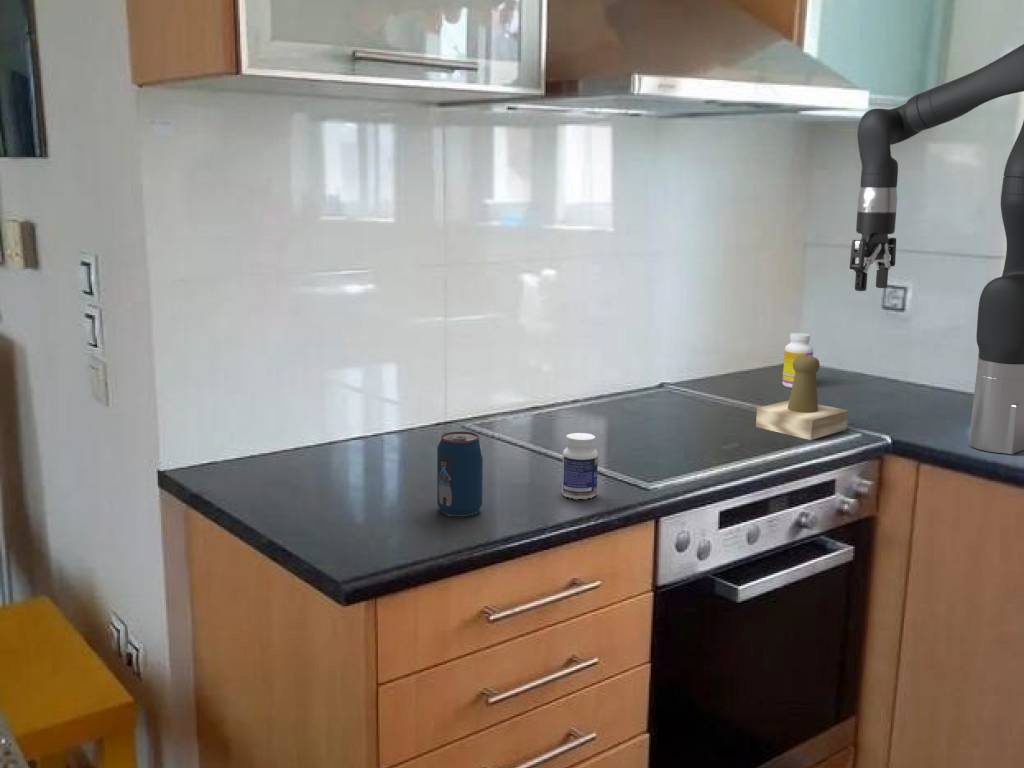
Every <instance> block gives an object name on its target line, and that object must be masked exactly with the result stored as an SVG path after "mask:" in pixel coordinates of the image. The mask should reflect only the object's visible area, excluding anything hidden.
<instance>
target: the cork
mask: <svg viewBox="0 0 1024 768" xmlns="http://www.w3.org/2000/svg"><path fill="white" fill-rule="evenodd" d="M793 369H794V371H795V375H794V380H793V385H792V388H791V390H790V395H789V399H788V400H789V404H788V409H789V410H791V411H794V412H801V413H813V412H817V411H818V404H819V403H818V402H819V401H818V384H817V381H818V380H817V373H818V372H819V369H820V361H819V359H818V358H817V357H815V356H813V357H812V356H798V357H796V358H795V359H794V361H793Z"/></svg>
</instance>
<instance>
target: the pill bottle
mask: <svg viewBox="0 0 1024 768" xmlns="http://www.w3.org/2000/svg"><path fill="white" fill-rule="evenodd" d="M565 443H566V444H567V447H565V448H564V450H563V451H562V467H561V468H562V471H561V472H562V474H561V475H562V476H561V493H562V495H563V496H564V497H565V498H567V497H569V498H568V499H571V498H573V499H572V500H578V499H583V500H589V499H588V498H590V499H593V498H595V497H594V496H597V494H598V493H597V492H598V474H599V473H598V468H599V465H598V464H599V453H598V451H597V450H596V448H595V447H594V446H595V445H596V436H595V435H594V434H592V433H585V432H574V433H569V434H566V440H565ZM592 497H593V498H592Z"/></svg>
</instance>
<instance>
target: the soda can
mask: <svg viewBox="0 0 1024 768" xmlns="http://www.w3.org/2000/svg"><path fill="white" fill-rule="evenodd" d="M483 449H484V448H483V445H482V443H481V441H480V436H479V435H478V434H477V433H474V432H472V431H471V432H470V431H449V432H447V433H446V432H445V433H443V434H442V435H441V437H440V441H439V443H438V445H437V448H436V451H437V452H436V453H437V454H436V456H437V460H436V462H437V464H436V465H437V466H436V467H437V468H436V469H437V470H436V471H437V473H436V474H437V475H436V479H437V480H436V482H437V483H436V484H437V486H436V487H437V489H436V497H437V499H436V502H437V504H436V505H437V506H438V508H439V510H440V512H441V513H442V514H443V513H444V514H443V515H445V514H446V515H445V516H447V515H450V516H449V517H451V516H468V515H472V514H475V513H476V512H477V513H478V512H479V510H480V509H481V507H482V505H483V463H484V462H483V461H484V459H483V458H484V457H483V453H484V452H483V451H484V450H483ZM477 513H476V514H477ZM476 514H475V515H476ZM472 516H473V515H472ZM468 517H469V516H468Z"/></svg>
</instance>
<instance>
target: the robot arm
mask: <svg viewBox="0 0 1024 768" xmlns="http://www.w3.org/2000/svg"><path fill="white" fill-rule="evenodd" d="M1022 92H1024V43H1023V44H1021V45H1019V46H1018V47H1016V48H1014V49H1013V50H1011V51H1010V52H1008V53H1006V54H1004V55H1002V56H1001V57H999V58H998V59H995V60H994V61H992V62H990V63H988V64H986V65H985V66H983V67H981V68H979V69H977V70H974V71H972V72H970V73H967V74H965V75H963V76H960V77H958V78H956V79H953V80H951V81H949V82H946V83H945V82H944V83H943V84H941V85H938V86H935V87H932V88H930V89H928V90H925V91H922V92H921V93H917V94H915V95H914V96H911V97H910V98H909V99H908V100H907V101H906V102H905V103H904V104H902V105H900V106H898V107H894V108H890V109H889V108H871V109H869V110H867V111H866V112H865V113H864V114H863V115H862V116H861V118H860V120H859V123H858V125H857V127H858V128H857V136H856V137H857V145H858V146H857V147H858V152H859V158H860V163H861V174H860V188H859V192H858V199H857V214H856V227H855V229H856V230H855V231H856V234H861V239H852V241H851V247H850V248H851V250H850V258H849V270H853V271H854V273H855V280H854V290H855V291H856V292H866V291H867V289H868V288H867V286H868V272H869V268H870V267H871V265H872V264H874V263H875V265H876V268H877V270H876V278H875V287H876V289H886V288H887V287H888V280H889V271H890V270H891V268H892V267H895V265H896V253H897V237H889V235H892V234H895V231H896V222H897V221H896V219H897V208H898V191H897V189H898V188H897V187H898V175H899V174H898V173H899V164H898V161H897V160H896V159H895V158H894V157H892V154H891V153H892V152H891V145H892V146H893V145H896V144H899V143H902V142H904V141H906V140H908V139H910V138H912V137H914V136H916V135H917V134H920V133H921V132H923V131H926V130H929V129H932V128H935V127H937V126H938V127H939V126H940V125H943V124H945V123H948V122H951V121H954V120H956V119H958V118H960V117H962V116H965V115H966V114H967V113H969V112H971V111H972V110H974V109H976V108H978V107H979V106H981V105H983V104H985V103H987V102H990V101H992V100H995V99H997V98H998V99H999V98H1001V97H1003V96H1009V95H1012V94H1016V93H1017V94H1018V93H1022ZM1000 210H1001V211H1000V212H1001V213H1000V214H1001V217H1002V218H1001V219H1002V223H1003V228H1004V229H1003V230H1004V232H1005V239H1006V240H1005V241H1006V252H1005V260H1004V264H1003V265H1004V266H1003V269H1002V270H1003V271H1002V275H1001V276H1000V277H999V276H998V277H996V278H994V279H991V280H990V281H988V282H987V284H986V285H985V286H984V287H983V289H982V291H981V293H980V298H979V301H978V307H977V323H976V336H975V337H976V345H977V347H978V357H977V358H978V359H977V366H976V375H975V382H974V383H975V384H974V392H973V393H974V394H973V400H972V401H973V402H972V411H971V419H970V428H969V429H970V430H969V437H968V446H970V447H972V448H974V449H976V450H980V451H983V452H991V453H996V454H1008V455H1014V454H1016V453H1019V452H1022V451H1024V120H1023V121H1022V125H1021V128H1020V130H1019V133H1018V135H1017V138H1016V139H1015V141H1014V144H1013V146H1012V148H1011V151H1010V153H1009V155H1008V158H1007V160H1006V163H1005V166H1004V170H1003V178H1002V186H1001V194H1000Z"/></svg>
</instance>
